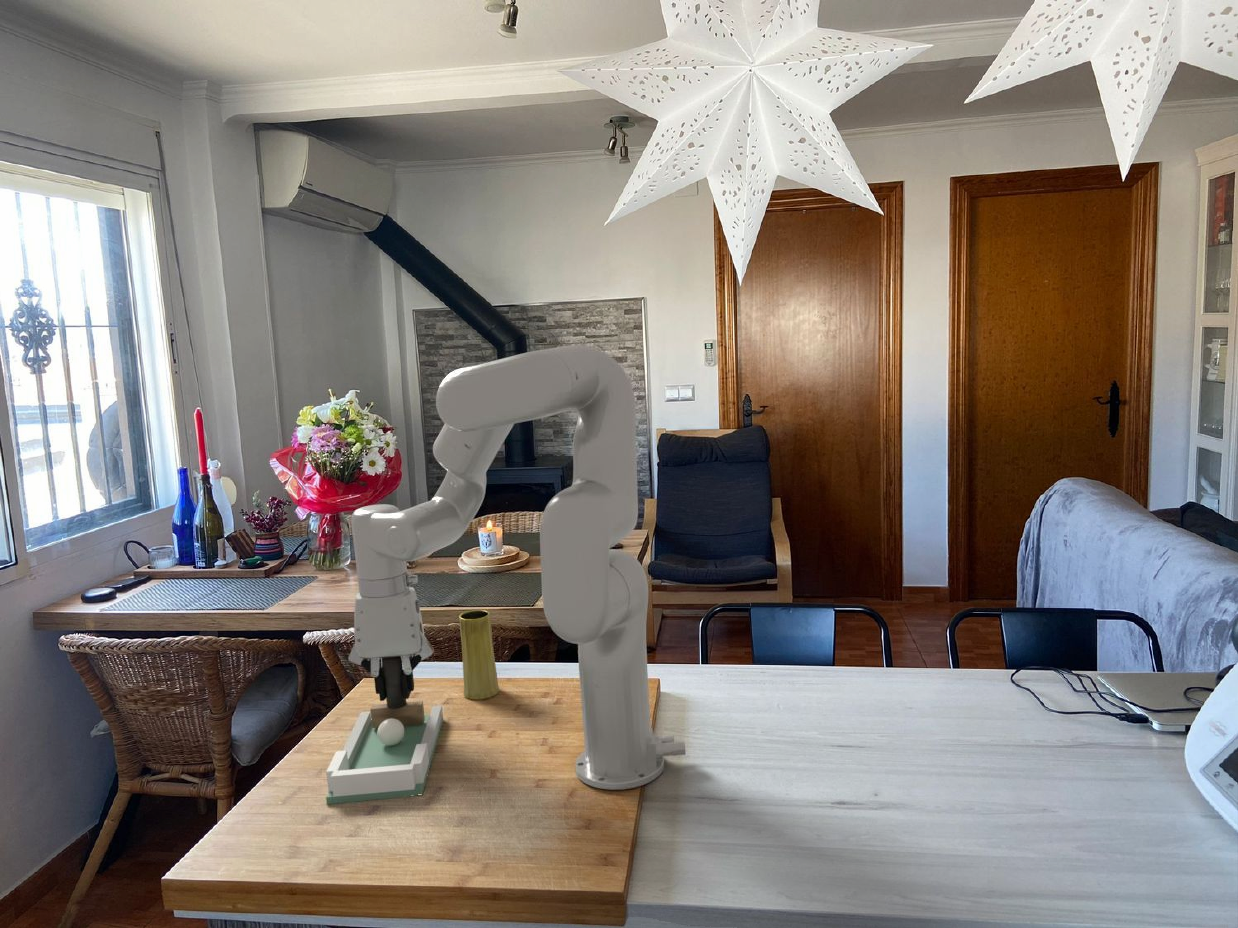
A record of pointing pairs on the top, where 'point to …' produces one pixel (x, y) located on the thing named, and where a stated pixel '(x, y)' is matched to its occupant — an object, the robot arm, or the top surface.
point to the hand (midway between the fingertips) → (395, 695)
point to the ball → (390, 732)
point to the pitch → (383, 762)
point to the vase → (478, 655)
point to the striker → (396, 698)
